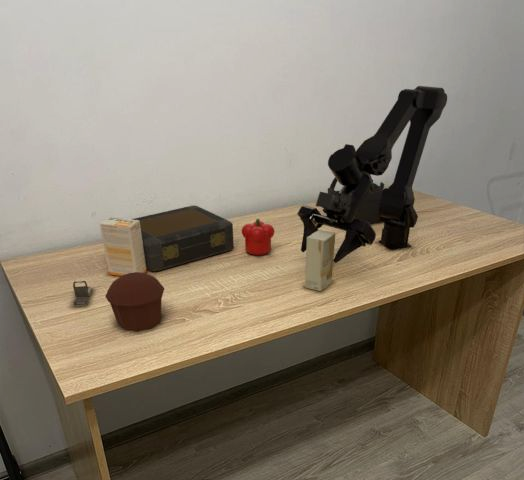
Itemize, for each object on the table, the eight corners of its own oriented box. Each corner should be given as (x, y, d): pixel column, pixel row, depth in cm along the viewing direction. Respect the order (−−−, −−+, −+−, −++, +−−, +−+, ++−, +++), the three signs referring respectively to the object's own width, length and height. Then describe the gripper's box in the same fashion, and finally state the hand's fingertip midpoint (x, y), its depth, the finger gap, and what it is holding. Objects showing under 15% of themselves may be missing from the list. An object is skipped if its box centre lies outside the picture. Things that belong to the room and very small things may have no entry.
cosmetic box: (320, 292, 121) (323, 241, 114) (303, 287, 123) (305, 237, 116) (333, 281, 126) (336, 232, 119) (316, 277, 128) (319, 228, 121)
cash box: (196, 229, 156) (194, 203, 152) (236, 250, 142) (235, 222, 138) (117, 249, 143) (112, 221, 139) (152, 274, 130) (148, 244, 126)
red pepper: (259, 244, 146) (259, 212, 141) (277, 252, 141) (277, 219, 136) (239, 251, 142) (238, 218, 137) (256, 259, 137) (256, 226, 132)
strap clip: (78, 290, 123) (75, 273, 120) (92, 289, 123) (88, 272, 121) (73, 307, 116) (69, 289, 113) (87, 306, 116) (83, 288, 114)
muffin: (150, 302, 117) (144, 260, 112) (178, 321, 110) (173, 277, 105) (100, 320, 111) (92, 276, 105) (127, 341, 104) (119, 295, 98)
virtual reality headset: (347, 233, 157) (355, 184, 147) (313, 201, 173) (318, 155, 164) (402, 225, 162) (412, 177, 153) (363, 195, 179) (371, 150, 170)
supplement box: (147, 271, 131) (140, 219, 124) (137, 279, 127) (129, 226, 120) (118, 267, 134) (110, 216, 127) (108, 274, 130) (98, 222, 123)
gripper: (303, 169, 120) (270, 229, 119) (374, 184, 109) (338, 250, 108) (323, 196, 129) (292, 252, 128) (390, 213, 118) (357, 274, 117)
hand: (317, 256), depth 120 cm, fingers open, 9 cm apart
